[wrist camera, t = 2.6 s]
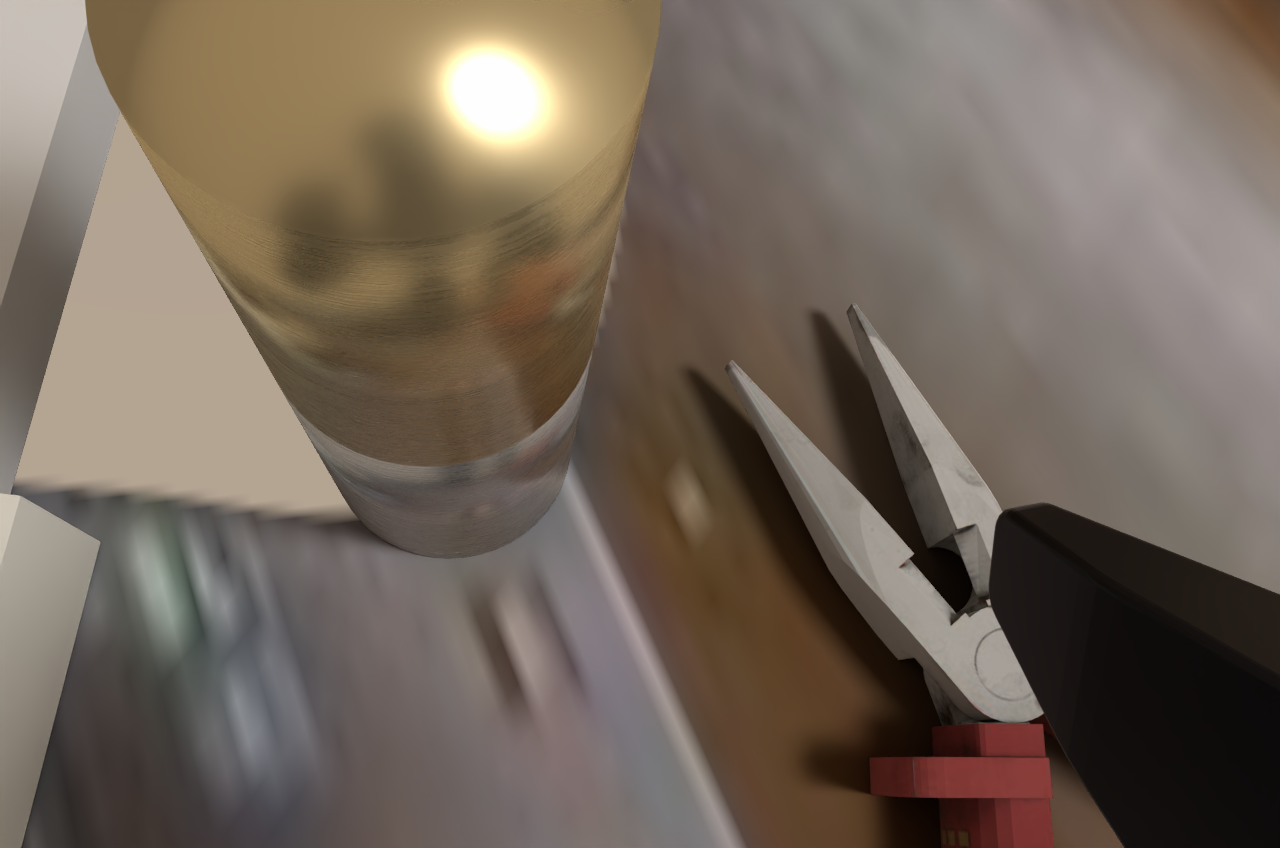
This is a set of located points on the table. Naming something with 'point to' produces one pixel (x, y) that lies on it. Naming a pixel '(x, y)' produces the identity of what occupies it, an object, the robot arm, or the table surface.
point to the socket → (39, 360)
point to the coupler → (403, 223)
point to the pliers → (926, 608)
